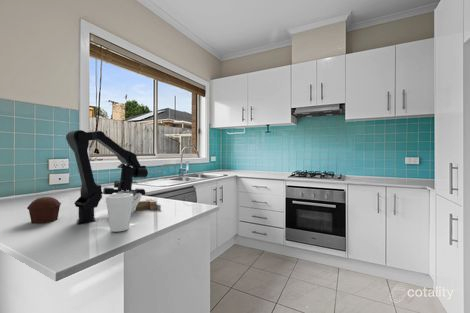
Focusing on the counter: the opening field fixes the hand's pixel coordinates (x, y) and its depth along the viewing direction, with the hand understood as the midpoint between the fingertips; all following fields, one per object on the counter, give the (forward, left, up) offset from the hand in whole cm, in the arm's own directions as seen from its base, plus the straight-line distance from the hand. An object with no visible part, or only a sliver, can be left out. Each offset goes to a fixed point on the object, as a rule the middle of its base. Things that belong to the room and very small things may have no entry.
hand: (122, 208), depth 112 cm
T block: (0, -11, -2) cm, 11 cm away
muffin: (+3, +30, -2) cm, 30 cm away
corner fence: (0, -13, -2) cm, 13 cm away
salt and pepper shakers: (0, -2, -1) cm, 2 cm away
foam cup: (-28, +5, -2) cm, 28 cm away
